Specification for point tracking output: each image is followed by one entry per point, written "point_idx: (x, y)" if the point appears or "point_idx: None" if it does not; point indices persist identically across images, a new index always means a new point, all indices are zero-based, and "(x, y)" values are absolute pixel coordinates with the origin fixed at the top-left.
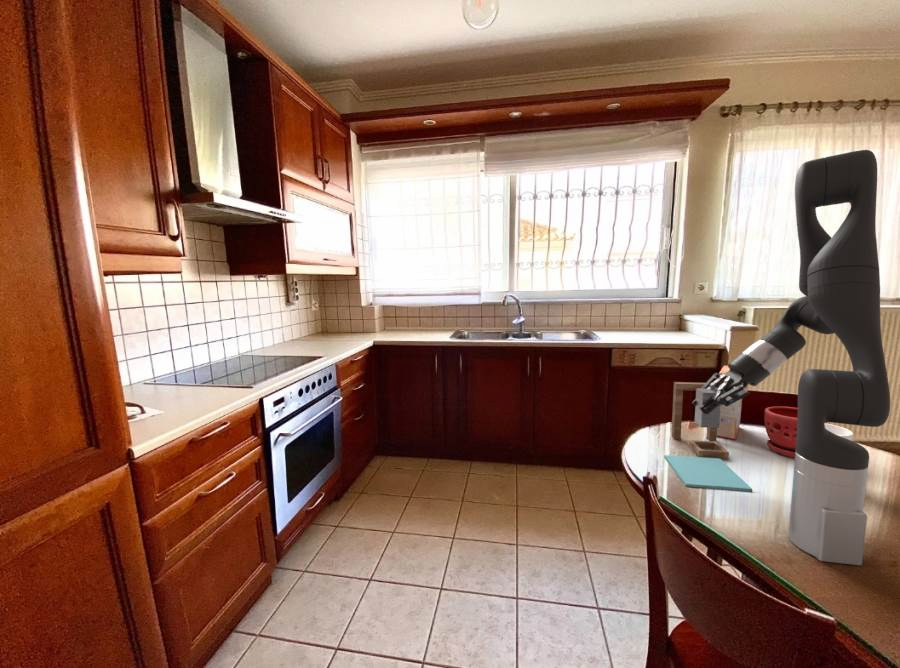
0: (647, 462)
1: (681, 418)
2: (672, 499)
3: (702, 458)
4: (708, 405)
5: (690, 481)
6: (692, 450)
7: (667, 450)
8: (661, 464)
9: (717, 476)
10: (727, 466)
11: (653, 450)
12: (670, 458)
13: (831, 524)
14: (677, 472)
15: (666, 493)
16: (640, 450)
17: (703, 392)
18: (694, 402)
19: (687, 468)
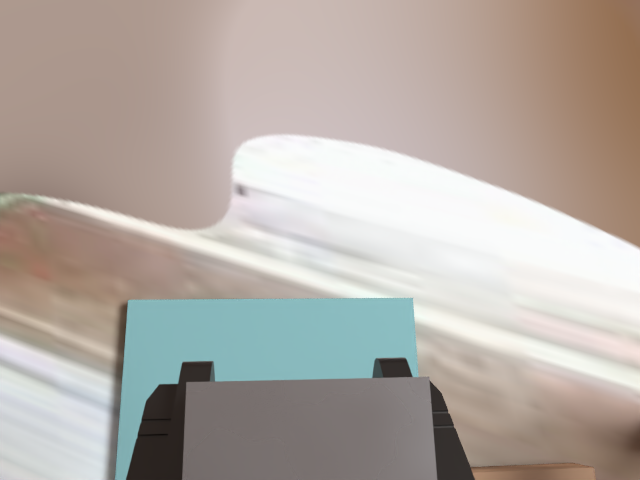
0: (337, 212)
1: None
2: (16, 214)
3: None
4: (146, 433)
5: (151, 326)
6: (522, 465)
7: (493, 339)
8: (328, 265)
9: None
10: None
11: (476, 273)
12: (379, 315)
13: None
14: (232, 299)
15: (62, 206)
16: (461, 216)
17: (198, 394)
18: (378, 370)
19: (281, 358)
